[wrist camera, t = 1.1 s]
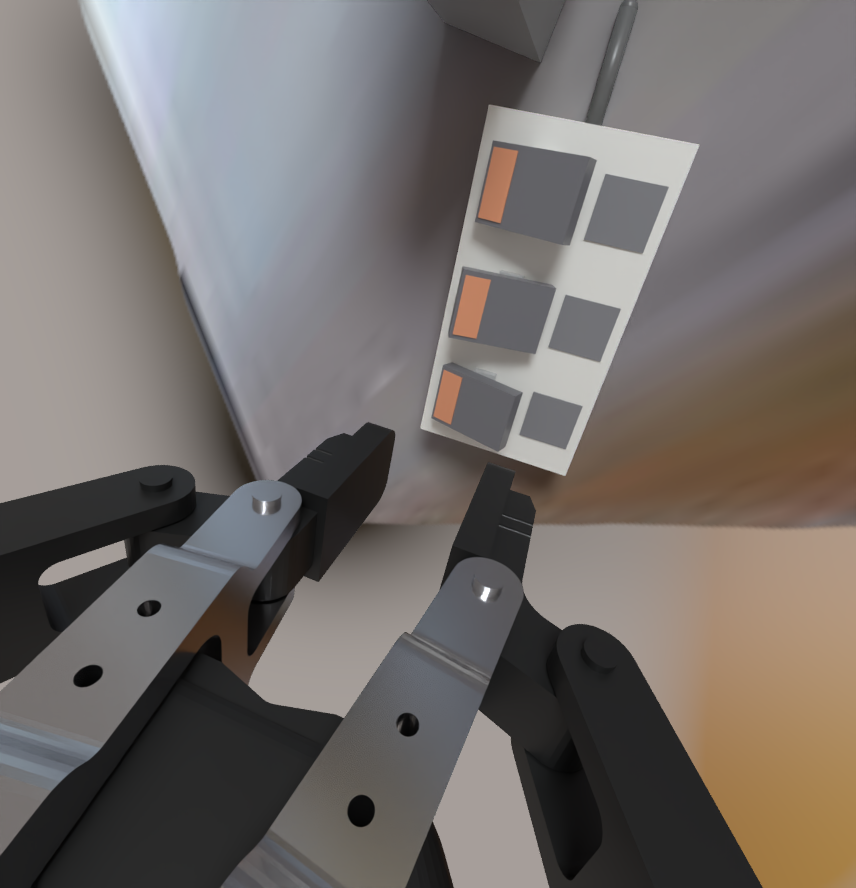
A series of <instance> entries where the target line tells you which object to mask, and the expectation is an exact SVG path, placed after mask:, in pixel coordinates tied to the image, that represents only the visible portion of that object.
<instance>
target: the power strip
mask: <svg viewBox="0 0 856 888" xmlns="http://www.w3.org/2000/svg"><path fill="white" fill-rule="evenodd" d="M637 10H638V3H637V1H636V0H624V1H623V2H622V4H621V6H620V8H619V12H618V15H617V18H616V22H615V25H614V28H613V32H612V35H611V38H610V42H609V45H608V48H607V52H606V55H605V58H604V62H603V65H602V68H601V72H600V75H599V79H598V82H597V85H596V89H595V92H594V95H593V99H592V102H591V105H590V109H589V112H588V115H587V119H586V122H585V123H584V122H578V121H573V120H568V119H563V118H557V117H552V116H547V115H542V114H537V113H531V112H526V111H521V110H516V109H510V108H505V107H500V106H495V105H490V104H489V107H488V112H487V117H486V121H485V126H484V131H483V135H482V140H481V145H480V150H479V154H478V159H477V164H476V168H475V173H474V178H473V183H472V187H471V192H470V197H469V201H468V206H467V211H466V216H465V220H464V225H463V230H462V234H461V239H460V244H459V249H458V253H457V258H456V263H455V267H454V272H453V277H452V282H451V286H450V291H449V296H448V300H447V305H446V310H445V315H444V319H443V324H442V329H441V333H440V338H439V343H438V348H437V352H436V357H435V362H434V366H433V371H432V376H431V381H430V385H429V390H428V395H427V399H426V404H425V409H424V414H423V418H422V423H421V428H420V429H423V430H426V431H430V432H433V433H436V434H439V435H442V436H445V437H448V438H451V439H454V440H457V441H460V442H463V443H466V444H469V445H472V446H475V447H478V448H481V449H484V450H488V451H491V452H494V453H497V454H500V455H503V456H506V457H509V458H512V459H515V460H518V461H521V462H524V463H527V464H530V465H533V466H536V467H539V468H542V469H546V470H549V471H552V472H555V473H558V474H561V475H564V476H565V475H566V473H567V470H568V468H569V466H570V463H571V461H572V458H573V456H574V453H575V451H576V448H577V446H578V443H579V441H580V438H581V436H582V434H583V431H584V429H585V426H586V424H587V421H588V419H589V416H590V414H591V411H592V409H593V406H594V404H595V401H596V399H597V397H598V394H599V392H600V389H601V387H602V384H603V382H604V379H605V377H606V374H607V372H608V369H609V367H610V364H611V362H612V360H613V357H614V355H615V352H616V350H617V347H618V345H619V342H620V340H621V337H622V335H623V332H624V330H625V327H626V325H627V323H628V320H629V318H630V315H631V313H632V310H633V308H634V305H635V303H636V300H637V298H638V295H639V293H640V290H641V288H642V286H643V283H644V281H645V278H646V276H647V273H648V271H649V268H650V266H651V263H652V261H653V258H654V256H655V254H656V251H657V249H658V246H659V244H660V241H661V239H662V236H663V234H664V231H665V229H666V226H667V224H668V221H669V219H670V217H671V214H672V212H673V209H674V207H675V204H676V202H677V199H678V197H679V194H680V192H681V189H682V187H683V184H684V182H685V180H686V177H687V175H688V172H689V170H690V167H691V165H692V162H693V160H694V157H695V155H696V152H697V150H698V147H699V145H698V144H693V143H688V142H683V141H678V140H672V139H667V138H662V137H657V136H651V135H646V134H641V133H636V132H631V131H625V130H620V129H615V128H610V127H604V126H601V125H602V122H603V118H604V115H605V112H606V109H607V106H608V102H609V99H610V96H611V93H612V90H613V86H614V83H615V80H616V77H617V74H618V70H619V67H620V64H621V61H622V58H623V55H624V51H625V48H626V45H627V42H628V39H629V35H630V32H631V29H632V26H633V23H634V19H635V16H636V13H637ZM493 140H494V141H500V142H506V143H512V144H517V145H523V146H529V147H535V148H541V149H547V150H553V151H558V152H564V153H570V154H576V155H582V156H588V157H591V158H593V159H595V160H597V162H596V165H595V168H594V171H593V174H592V178H591V181H590V184H589V187H588V190H587V193H586V196H585V200H584V203H583V206H582V209H581V212H580V215H579V218H578V221H577V225H576V228H575V231H574V234H573V237H572V240H571V243H570V245H560V244H556V243H553V242H549V241H545V240H541V239H537V238H534V237H530V236H526V235H522V234H518V233H515V232H511V231H507V230H503V229H500V228H496V227H492V226H488V225H484V224H481V223H477V222H475V219H476V214H477V210H478V205H479V201H480V196H481V192H482V187H483V183H484V178H485V174H486V169H487V165H488V160H489V156H490V151H491V147H492V142H493ZM463 266H465V267H470V268H475V269H480V270H484V271H489V272H494V273H499V274H504V275H508V276H513V277H518V278H523V279H528V280H532V281H537V282H542V283H547V284H552V285H553V286H554V287H555V288H556V291H555V294H554V298H553V301H552V304H551V307H550V310H549V313H548V316H547V319H546V323H545V326H544V329H543V332H542V335H541V338H540V341H539V344H538V348H537V351H536V354H531V353H526V352H521V351H516V350H511V349H505V348H500V347H495V346H490V345H485V344H479V343H474V342H469V341H464V340H459V339H453V338H449V336H448V330H449V326H450V321H451V317H452V312H453V307H454V303H455V298H456V294H457V289H458V285H459V280H460V276H461V271H462V267H463ZM451 362H453V363H455V364H457V365H460V366H462V367H464V368H467V369H469V370H471V371H474V372H476V373H478V374H481V375H483V376H485V377H488V378H490V379H492V380H495V381H497V382H499V383H502V384H504V385H506V386H509V387H511V388H513V389H516V390H518V391H520V392H523V394H522V397H521V400H520V403H519V406H518V409H517V412H516V416H515V419H514V422H513V425H512V428H511V431H510V434H509V438H508V441H507V444H506V447H504V448H503V449H502V450H500V451H499V452H497V451H495V450H493V449H491V448H489V447H487V446H485V445H483V444H481V443H479V442H477V441H475V440H473V439H471V438H469V437H467V436H465V435H463V434H461V433H459V432H457V431H455V430H453V429H452V428H450V427H448V426H446V425H444V424H442V423H440V422H438V421H436V420H434V419H432V418H431V417H432V412H433V408H434V403H435V399H436V394H437V390H438V385H439V381H440V376H441V372H442V367H443V365H444V364H448V363H451Z"/></svg>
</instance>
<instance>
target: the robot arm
mask: <svg viewBox="0 0 856 888" xmlns="http://www.w3.org/2000/svg"><path fill="white" fill-rule="evenodd" d="M394 441H395V431H393V430H390V429H387V428H384V427H381V426H378V425H375V424H372V423H369V422H368V423H366V424H365V425H364V426H362V427H361V428H360V429H359V430H358V431H357V432H356V433H355V434H354V435H353V436H351V435H348V434H345V433H343V434H340V435H337V436H334V437H331V438H328V439H326V440H325V441H324V442H323V443H322V444H320V445H319V446H318V447H317V448H316V450H313V451H312V452H311V453H310V454H308V455H307V458H304V459H303V460H301V461H300V462H299V463H298V464H297V465H295V466H294V467H293V468H292V469H291V470H289V471H288V472H287V473H286V474H285V475H284V476H282V477H281V478H280V479H279V480H278V481H274V480H261V481H255V482H251V483H248V484H245V485H243V486H241V487H240V488H238V489H237V490H236V491H235V492H234V493H233V494H232V495H231V496H225V495H217V494H209V493H202V492H196V491H195V479H194V477H193V475H192V474H191V473H190V472H188V471H187V470H185V469H182V468H180V467H176V466H168V465H155V466H148V467H143V468H140V469H135V470H131V471H127V472H123V473H119V474H115V475H111V476H108V477H103V478H99V479H96V480H91V481H87V482H83V483H80V484H75V485H72V486H68V487H64V488H60V489H56V490H52V491H48V492H44V493H40V494H36V495H32V496H28V497H24V498H20V499H16V500H12V501H8V502H4V503H0V683H2V682H4V681H7V680H8V679H11V678H13V677H15V676H16V677H15V678H14V679H13V680H12V681H11V682H10V683H9V684H8V685H7V686H6V687H4V688H3V689H2V690H1V691H0V888H454V887H453V883H452V880H451V876H450V872H449V869H448V865H447V861H446V858H445V854H444V851H443V848H442V844H441V841H440V838H439V836H438V833H437V831H436V829H435V826H434V824H433V819H434V816H435V814H436V811H437V809H438V806H439V804H440V802H441V799H442V797H443V794H444V792H445V789H446V787H447V784H448V782H449V779H450V777H451V775H452V772H453V770H454V767H455V765H456V762H457V760H458V757H459V755H460V753H461V750H462V748H463V745H464V743H465V740H466V738H467V736H468V733H469V731H470V728H471V726H472V723H473V721H474V718H475V716H476V713H477V711H478V710H480V711H481V712H482V713H483V714H484V715H486V716H487V717H488V718H489V719H490V720H492V721H493V722H494V723H495V724H496V725H497V726H499V727H500V728H501V729H502V730H504V731H505V732H506V733H507V734H508V735H509V736H510V737H511V745H512V750H513V754H514V758H515V761H516V765H517V769H518V773H519V776H520V780H521V783H522V787H523V791H524V795H525V798H526V802H527V806H528V810H529V813H530V817H531V821H532V824H533V828H534V832H535V835H536V839H537V843H538V847H539V850H540V854H541V858H542V861H543V865H544V869H545V873H546V876H547V880H548V884H549V887H550V888H762V886H761V884H760V882H759V880H758V878H757V877H756V875H755V873H754V871H753V869H752V868H751V866H750V864H749V863H748V861H747V859H746V857H745V855H744V853H743V852H742V850H741V848H740V846H739V845H738V843H737V841H736V839H735V837H734V836H733V834H732V832H731V830H730V829H729V827H728V825H727V824H726V822H725V820H724V818H723V816H722V814H721V813H720V811H719V809H718V807H717V806H716V804H715V802H714V800H713V798H712V797H711V795H710V793H709V791H708V789H707V788H706V786H705V784H704V783H703V781H702V779H701V777H700V775H699V773H698V772H697V770H696V768H695V766H694V765H693V763H692V761H691V759H690V758H689V756H688V754H687V752H686V750H685V749H684V747H683V745H682V743H681V741H680V740H679V738H678V736H677V735H676V733H675V731H674V729H673V727H672V725H671V724H670V722H669V720H668V718H667V717H666V715H665V713H664V711H663V709H662V708H661V706H660V704H659V702H658V701H657V699H656V697H655V695H654V694H653V692H652V690H651V688H650V686H649V685H648V683H647V681H646V680H645V677H644V676H643V674H642V672H641V670H640V669H639V667H638V665H637V663H636V661H635V660H634V658H633V656H632V655H631V653H630V652H629V651H628V650H627V648H626V647H625V646H624V645H623V644H622V643H621V642H620V641H619V640H617V639H616V638H615V637H613V636H612V635H611V634H609V633H607V632H606V631H604V630H601V629H599V628H597V627H594V626H590V625H585V624H575V625H571V626H568V627H566V628H565V629H563V630H561V629H559V628H558V627H557V626H555V625H554V624H552V623H551V622H549V621H548V620H546V619H545V618H543V617H542V616H541V615H540V614H539V613H538V612H537V611H536V610H535V609H534V608H533V607H532V606H531V604H530V603H529V602H528V600H527V598H526V596H525V594H524V591H523V586H522V578H523V573H524V568H525V563H526V558H527V553H528V548H529V543H530V537H531V533H532V528H533V527H532V526H533V523H534V518H535V513H536V510H535V508H534V505H533V503H532V501H531V498H530V496H527V495H524V494H521V493H518V492H515V491H512V490H510V488H511V484H512V481H513V478H514V474H515V471H513V470H510V469H507V468H504V467H501V466H498V465H495V464H492V463H489V462H488V464H487V466H486V468H485V471H484V473H483V475H482V478H481V480H480V482H479V485H478V487H477V489H476V492H475V494H474V496H473V499H472V501H471V503H470V506H469V508H468V510H467V513H466V515H465V517H464V520H463V522H462V524H461V527H460V529H459V531H458V534H457V536H456V539H455V541H454V543H453V546H452V549H451V552H450V556H449V559H448V563H447V566H446V570H445V573H444V576H443V580H442V583H441V587H440V590H439V592H438V594H437V595H436V597H435V598H434V600H433V601H432V603H431V604H430V606H429V607H428V609H427V611H426V612H425V614H424V615H423V617H422V618H421V620H420V621H419V623H418V625H417V626H416V627H415V629H414V630H413V632H412V633H411V634H408V633H407V632H404V633H403V634H402V635H401V636H400V637H399V638H398V640H397V641H396V642H395V644H394V645H393V647H392V648H391V650H390V651H389V653H388V654H387V656H386V657H385V659H384V660H383V662H382V663H381V664H380V666H379V667H378V669H377V670H376V672H375V673H374V675H373V676H372V678H371V679H370V681H369V682H368V684H367V685H366V687H365V688H364V690H363V691H362V692H361V694H360V695H359V697H358V699H357V700H356V702H355V703H354V704H353V706H352V707H351V709H350V710H349V712H348V713H347V715H346V716H345V718H342V717H340V716H338V715H335V714H329V713H323V712H317V711H311V710H305V709H299V708H293V707H287V706H281V705H275V704H271V703H268V702H266V701H265V700H263V699H262V698H261V697H260V696H259V695H258V694H256V693H255V692H254V691H253V690H252V689H251V688H250V687H249V686H248V684H249V680H250V678H251V675H252V673H253V670H254V668H255V666H256V664H257V663H258V661H259V659H260V657H261V656H262V654H263V652H264V650H265V648H266V647H267V645H268V643H269V641H270V639H271V638H272V636H273V634H274V632H275V630H276V629H277V627H278V625H279V624H280V622H281V620H282V618H283V617H284V615H285V613H286V611H287V609H288V608H289V606H290V604H291V602H292V600H293V598H294V592H295V586H296V585H297V584H298V582H299V581H300V580H301V579H302V577H303V576H305V577H308V578H310V579H312V580H315V581H318V582H319V581H320V579H321V578H322V577H323V575H324V574H325V573H326V571H327V570H328V569H329V567H330V566H331V564H332V563H333V562H334V560H335V559H336V558H337V557H338V555H339V554H340V553H341V551H342V550H343V549H344V547H345V546H346V545H347V543H348V542H349V541H350V539H351V538H352V536H353V535H354V534H355V533H356V531H357V530H358V528H359V527H360V526H361V525H362V523H363V522H364V521H365V519H366V518H367V517H368V515H369V514H370V513H371V511H372V510H373V509H374V507H375V506H376V505H377V503H378V502H379V500H380V499H381V497H382V494H383V492H384V490H385V487H386V483H387V479H388V474H389V468H390V463H391V458H392V452H393V447H394ZM122 540H124V542H125V548H126V554H127V558H124V559H122V560H119V561H116V562H114V563H111V564H108V565H105V566H102V567H100V568H97V569H94V570H91V571H89V572H86V573H83V574H81V575H78V576H75V577H72V578H69V579H67V580H64V581H61V582H58V583H56V584H52V585H46V586H43V585H42V586H41V585H38V580H39V578H40V576H41V574H42V573H43V572H44V571H45V570H46V569H48V568H49V567H50V566H52V565H54V564H56V563H58V562H61V561H63V560H66V559H69V558H72V557H75V556H78V555H81V554H84V553H87V552H89V551H93V550H96V549H99V548H102V547H105V546H108V545H110V544H114V543H116V542H119V541H122Z"/></svg>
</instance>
